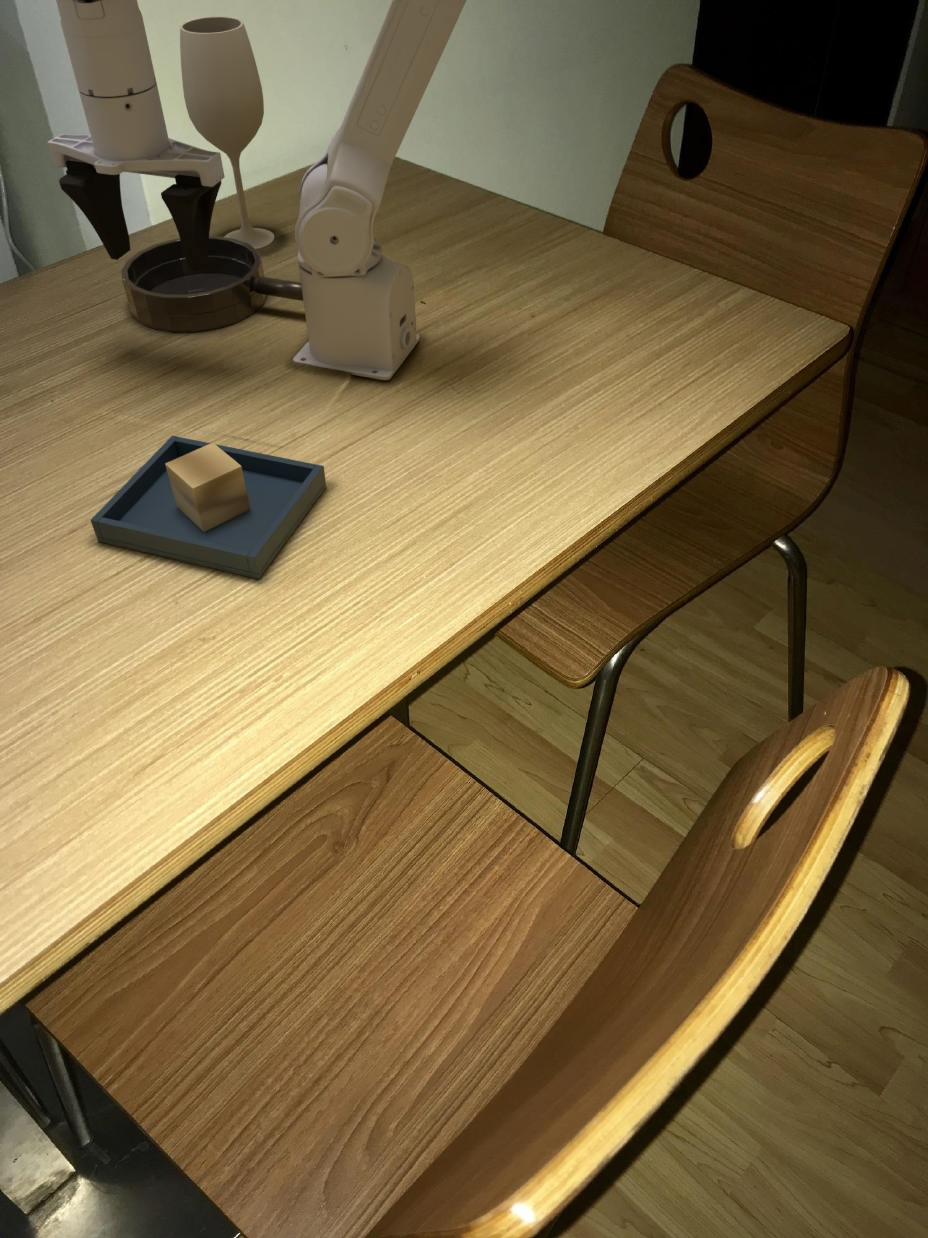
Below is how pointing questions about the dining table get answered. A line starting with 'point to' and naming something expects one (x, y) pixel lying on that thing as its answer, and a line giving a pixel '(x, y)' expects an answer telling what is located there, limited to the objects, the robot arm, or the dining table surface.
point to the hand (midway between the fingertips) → (159, 260)
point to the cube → (208, 486)
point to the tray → (234, 546)
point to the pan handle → (277, 288)
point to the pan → (193, 286)
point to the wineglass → (224, 97)
